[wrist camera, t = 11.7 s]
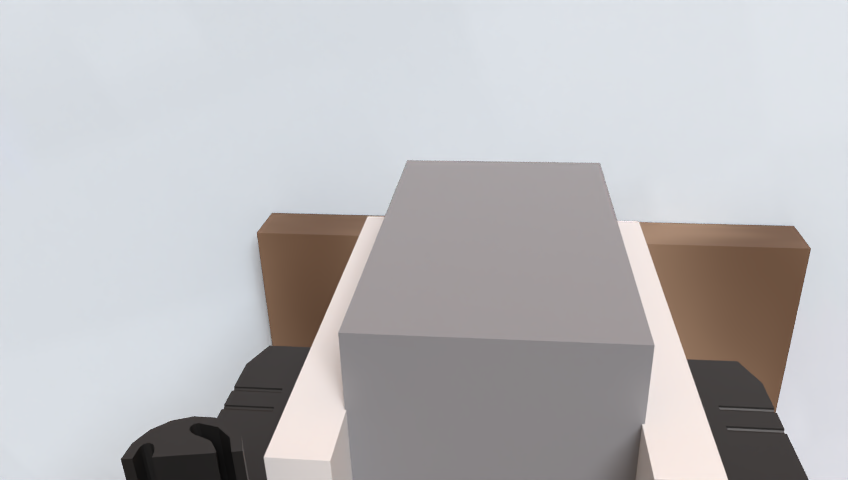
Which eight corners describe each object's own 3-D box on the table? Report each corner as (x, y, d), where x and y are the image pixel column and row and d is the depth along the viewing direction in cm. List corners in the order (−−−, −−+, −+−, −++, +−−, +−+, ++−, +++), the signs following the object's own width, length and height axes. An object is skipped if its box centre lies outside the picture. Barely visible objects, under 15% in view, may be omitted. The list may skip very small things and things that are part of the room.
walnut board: (323, 615, 33) (314, 647, 31) (271, 213, 24) (256, 232, 23) (708, 651, 31) (716, 687, 29) (793, 226, 22) (810, 248, 21)
